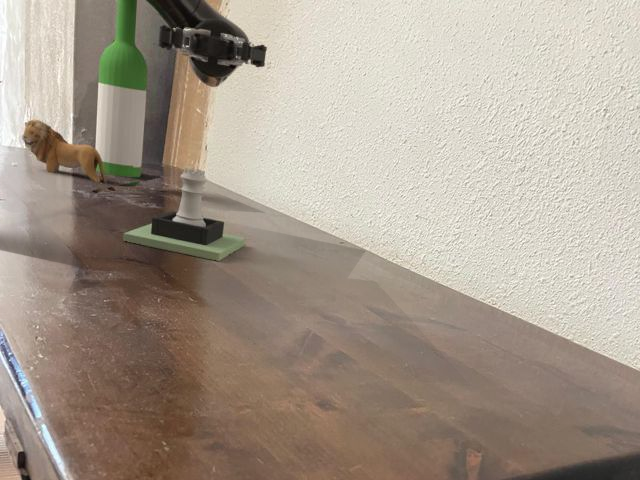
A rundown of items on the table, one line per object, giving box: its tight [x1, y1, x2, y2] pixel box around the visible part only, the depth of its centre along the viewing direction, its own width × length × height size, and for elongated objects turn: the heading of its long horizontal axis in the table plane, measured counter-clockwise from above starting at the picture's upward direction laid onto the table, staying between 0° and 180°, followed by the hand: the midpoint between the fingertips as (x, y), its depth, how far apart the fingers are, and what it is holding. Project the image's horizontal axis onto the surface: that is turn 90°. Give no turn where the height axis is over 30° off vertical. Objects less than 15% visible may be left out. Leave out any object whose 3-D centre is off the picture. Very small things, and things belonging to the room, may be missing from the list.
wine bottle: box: [94, 0, 148, 187], centre depth 123 cm, size 8×8×30 cm
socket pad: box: [123, 210, 246, 262], centre depth 94 cm, size 12×12×3 cm
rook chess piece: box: [172, 167, 208, 228], centre depth 93 cm, size 4×4×8 cm
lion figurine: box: [21, 119, 116, 194], centre depth 116 cm, size 15×5×9 cm, turn 88°
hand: (211, 44), depth 95 cm, fingers open, 8 cm apart
